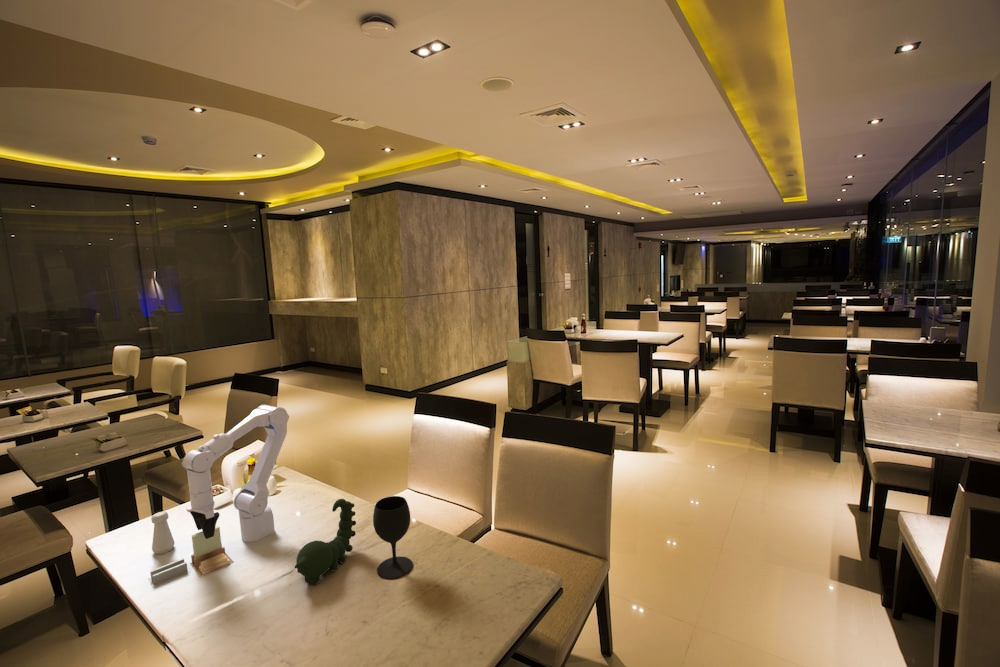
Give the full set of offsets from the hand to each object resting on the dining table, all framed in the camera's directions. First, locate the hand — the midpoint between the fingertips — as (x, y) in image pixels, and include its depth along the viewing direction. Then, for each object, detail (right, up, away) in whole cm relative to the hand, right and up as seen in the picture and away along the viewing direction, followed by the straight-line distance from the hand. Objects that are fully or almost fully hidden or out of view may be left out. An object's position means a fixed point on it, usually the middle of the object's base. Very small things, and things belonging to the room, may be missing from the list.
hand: (205, 532), depth 140 cm
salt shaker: (-18, -9, +7) cm, 21 cm away
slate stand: (-6, -10, -6) cm, 14 cm away
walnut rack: (+3, -9, -1) cm, 10 cm away
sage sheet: (0, -8, +1) cm, 9 cm away
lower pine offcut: (+4, -9, -3) cm, 10 cm away
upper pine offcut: (+4, -8, -3) cm, 9 cm away
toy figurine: (+39, -9, -4) cm, 40 cm away
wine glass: (+59, -8, -5) cm, 59 cm away
